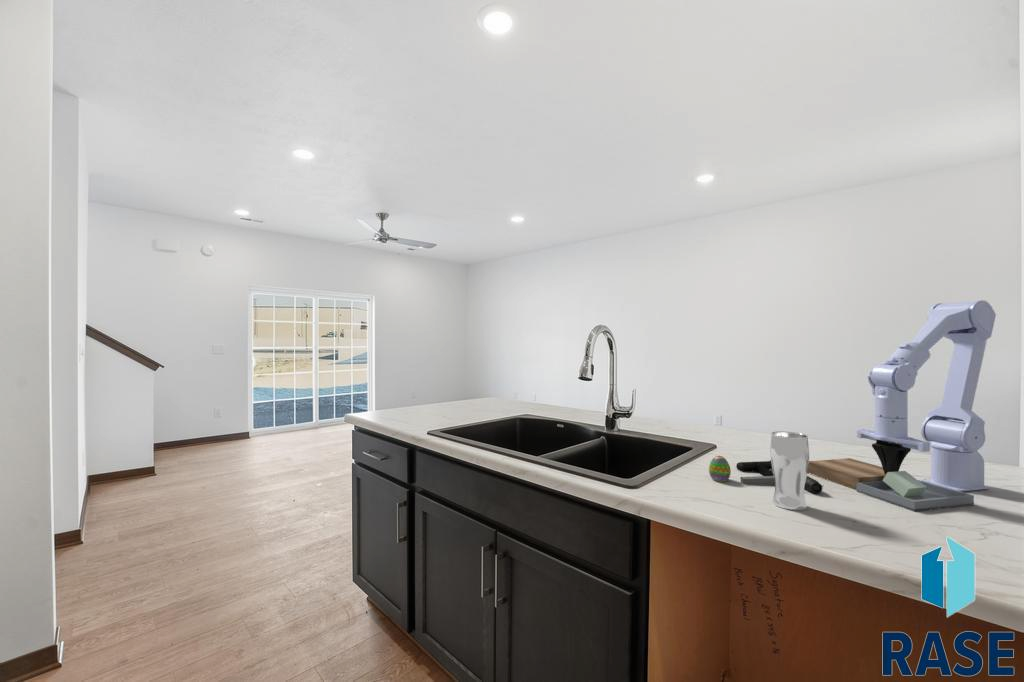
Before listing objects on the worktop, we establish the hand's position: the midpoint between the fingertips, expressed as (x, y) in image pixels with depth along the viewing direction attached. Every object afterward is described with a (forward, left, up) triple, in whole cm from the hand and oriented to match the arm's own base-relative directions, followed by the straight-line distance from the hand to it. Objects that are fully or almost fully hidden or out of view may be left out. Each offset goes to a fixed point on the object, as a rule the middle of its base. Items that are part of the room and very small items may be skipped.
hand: (890, 475), depth 101 cm
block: (0, +2, -2) cm, 3 cm away
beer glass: (+30, +2, -4) cm, 30 cm away
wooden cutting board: (0, -9, -4) cm, 10 cm away
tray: (0, +5, -4) cm, 6 cm away
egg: (+33, -16, -4) cm, 37 cm away
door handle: (+21, -13, -4) cm, 25 cm away
